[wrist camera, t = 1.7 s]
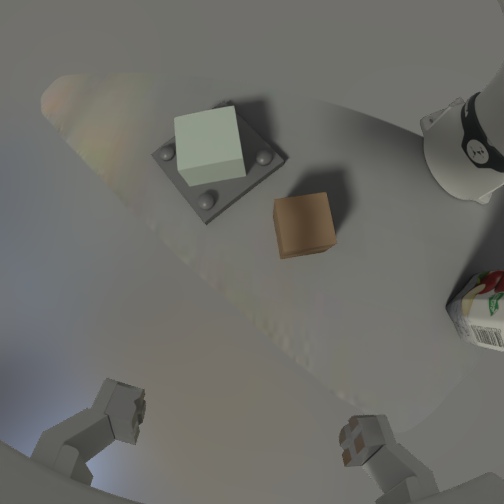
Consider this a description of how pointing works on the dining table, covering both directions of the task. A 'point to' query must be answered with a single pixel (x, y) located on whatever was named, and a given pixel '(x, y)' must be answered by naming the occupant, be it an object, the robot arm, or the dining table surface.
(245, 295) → the dining table surface
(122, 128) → the dining table surface
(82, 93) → the dining table surface
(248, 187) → the baseplate
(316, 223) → the walnut brick
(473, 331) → the juice carton
